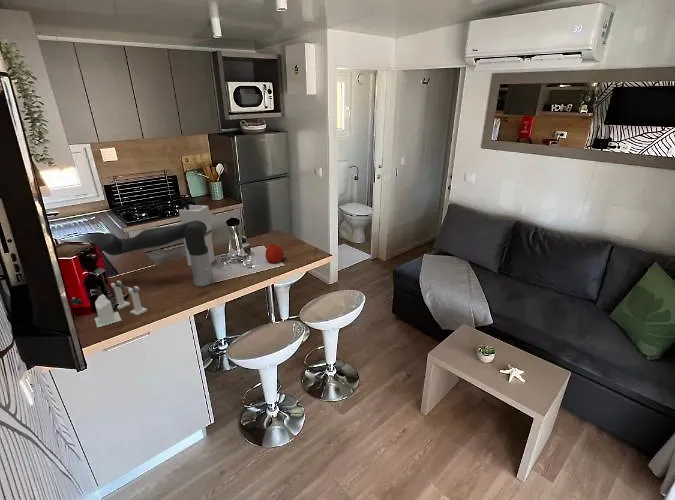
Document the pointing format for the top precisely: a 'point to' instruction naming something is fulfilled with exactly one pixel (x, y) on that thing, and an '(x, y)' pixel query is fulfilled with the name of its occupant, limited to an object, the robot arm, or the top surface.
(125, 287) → the rod
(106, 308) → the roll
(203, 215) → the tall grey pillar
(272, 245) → the apple
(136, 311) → the hurdle posts
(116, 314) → the mat
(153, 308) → the top surface
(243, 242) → the medicine bottle
